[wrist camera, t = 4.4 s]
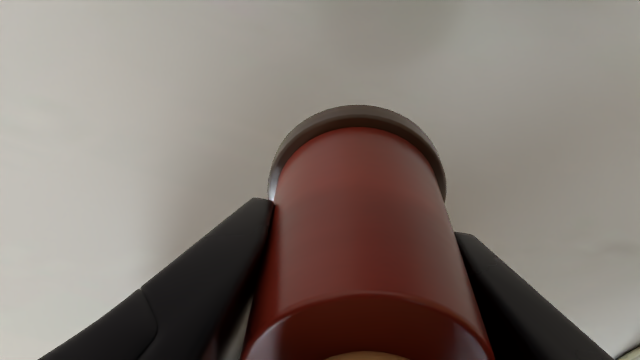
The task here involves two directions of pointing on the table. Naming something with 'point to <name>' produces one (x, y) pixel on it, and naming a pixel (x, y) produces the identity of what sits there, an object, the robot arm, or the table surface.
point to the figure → (361, 249)
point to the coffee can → (631, 355)
